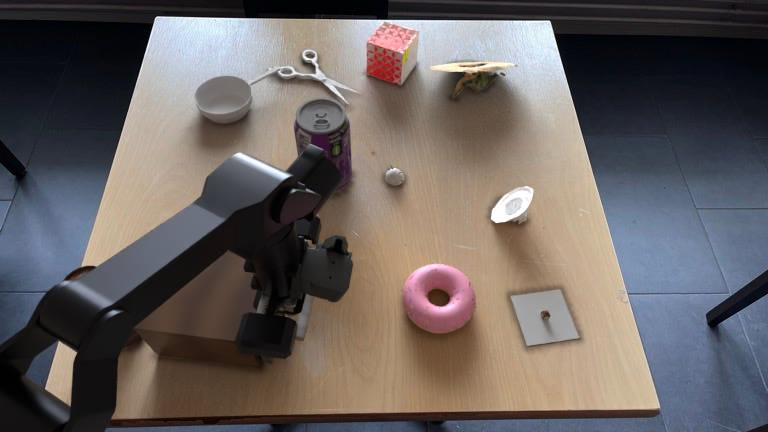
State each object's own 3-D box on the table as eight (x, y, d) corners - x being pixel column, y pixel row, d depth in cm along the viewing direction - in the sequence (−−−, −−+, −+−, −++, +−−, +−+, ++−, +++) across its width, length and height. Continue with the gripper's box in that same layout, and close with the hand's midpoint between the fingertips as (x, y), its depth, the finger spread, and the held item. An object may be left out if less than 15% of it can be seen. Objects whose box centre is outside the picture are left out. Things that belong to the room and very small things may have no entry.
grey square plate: (560, 289, 80) (564, 283, 79) (579, 338, 76) (583, 333, 74) (510, 296, 79) (513, 290, 78) (527, 345, 75) (530, 341, 73)
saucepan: (189, 104, 102) (183, 88, 99) (268, 68, 109) (265, 52, 106) (215, 135, 97) (210, 120, 94) (296, 96, 104) (294, 80, 101)
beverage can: (354, 194, 90) (352, 133, 78) (302, 198, 89) (292, 137, 77) (349, 156, 95) (347, 92, 83) (301, 159, 94) (291, 96, 82)
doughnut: (422, 260, 83) (424, 246, 79) (485, 292, 80) (490, 279, 76) (387, 314, 77) (388, 302, 74) (454, 351, 74) (458, 340, 71)
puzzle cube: (400, 85, 107) (402, 53, 100) (366, 74, 108) (366, 41, 102) (416, 63, 111) (419, 31, 104) (383, 52, 113) (384, 20, 106)
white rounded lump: (390, 169, 93) (391, 159, 91) (409, 179, 92) (410, 169, 90) (380, 180, 92) (380, 170, 90) (399, 190, 91) (400, 181, 89)
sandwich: (462, 82, 117) (469, 47, 114) (516, 100, 109) (526, 63, 105) (409, 91, 105) (414, 52, 102) (465, 112, 97) (473, 71, 93)
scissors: (303, 45, 112) (374, 85, 105) (304, 48, 113) (374, 88, 106) (267, 69, 107) (339, 113, 100) (268, 72, 108) (339, 116, 101)
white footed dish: (508, 234, 90) (517, 240, 82) (485, 215, 90) (492, 219, 82) (539, 200, 90) (552, 202, 82) (516, 180, 90) (527, 180, 82)
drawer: (320, 294, 78) (316, 268, 71) (304, 368, 71) (298, 347, 65) (203, 279, 79) (189, 252, 72) (177, 351, 72) (158, 329, 66)
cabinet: (281, 288, 79) (272, 256, 71) (260, 369, 72) (247, 343, 64) (188, 277, 80) (169, 243, 72) (158, 355, 73) (132, 328, 65)
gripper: (330, 336, 51) (337, 386, 64) (359, 188, 62) (360, 256, 74) (219, 322, 51) (248, 374, 64) (267, 178, 62) (283, 247, 75)
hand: (290, 309), depth 69 cm, fingers closed
